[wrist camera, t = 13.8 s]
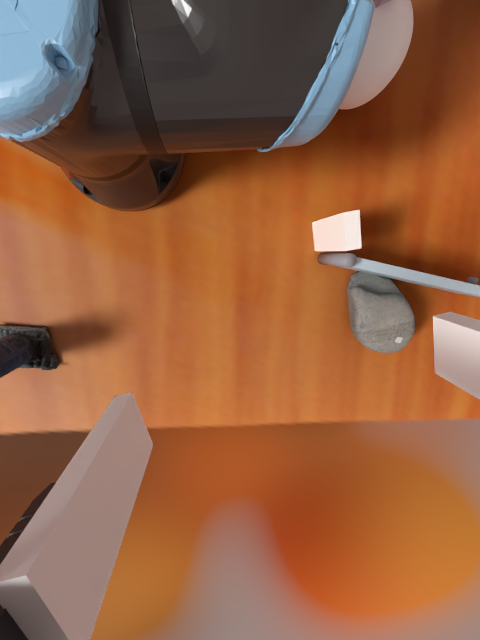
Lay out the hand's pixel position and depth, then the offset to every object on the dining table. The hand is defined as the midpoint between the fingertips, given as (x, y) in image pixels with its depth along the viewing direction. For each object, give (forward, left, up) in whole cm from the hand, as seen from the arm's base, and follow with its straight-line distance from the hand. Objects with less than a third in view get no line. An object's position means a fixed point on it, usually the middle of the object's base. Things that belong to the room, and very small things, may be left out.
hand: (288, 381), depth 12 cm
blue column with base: (+3, -32, -30) cm, 44 cm away
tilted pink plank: (-6, +13, -29) cm, 32 cm away
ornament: (-24, +17, -30) cm, 42 cm away
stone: (+6, +19, -30) cm, 36 cm away
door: (+1, +23, -29) cm, 37 cm away
